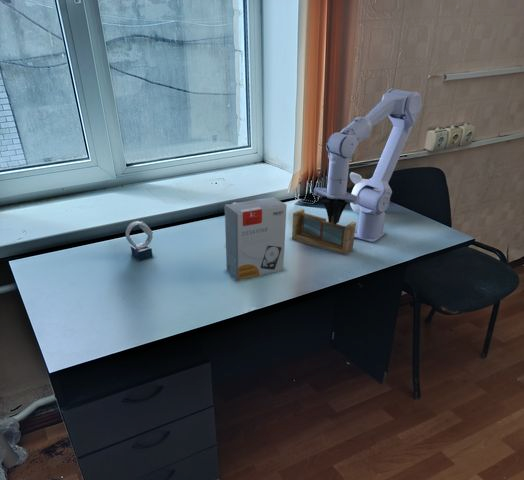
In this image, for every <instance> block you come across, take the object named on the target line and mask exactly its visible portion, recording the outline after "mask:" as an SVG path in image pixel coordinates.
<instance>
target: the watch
mask: <svg viewBox="0 0 524 480" xmlns="http://www.w3.org/2000/svg"><path fill="white" fill-rule="evenodd" d="M136 226H139V228H140V229H141V230H142V232H144V233H145V234H146V235H147V237H146V240H145V241H144V242H139V243H135V242H134V241H133V239H132V238H131V235H130V233H131V231H132V230H133V229H134V227H136ZM153 234H154V231H153V230H152V229H151V227H150V226H148V225H147V223H145V222H144V221H143V220H140V221H139V220H134V221H132V222H130V223H129V224H128V225H127V226H126V229H125V238H126V240H127V242H128V243H129V244H130V251H131V252H130V253H131V256H132V257H133V258H135V259H137V260H138V261H139V262H143V261H146V260H150V259H153V258H154V256H153V250H152V247H150V246H149V245H150V244H151V242H152V241H153V237H154V236H153Z"/></svg>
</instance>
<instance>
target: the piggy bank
mask: <svg viewBox="0 0 524 480" xmlns="http://www.w3.org/2000/svg"><path fill="white" fill-rule="evenodd" d="M349 179H350V181H351V182H352V183H353V184H354V186H353V188H352V191H351V194H353V195H356V196H357V193H358V191H359V190H360V189H361V187H362V186H363V183H364V182H365V181H366V180H368V179H369V178H363V177H362V175H360V174H359V173H356V172H353V171H351V172H350V173H349ZM374 190H377V191H379V192H381V191H380V190H378V189H374ZM349 204H350V208H351V210H352V211H353V212H354V213H356V214H357V215H359V214H360V209H359V205H358V204H356V205H355V204H353V203H350V202H349Z"/></svg>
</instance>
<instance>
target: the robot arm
mask: <svg viewBox="0 0 524 480" xmlns="http://www.w3.org/2000/svg"><path fill="white" fill-rule="evenodd" d="M422 107H423V103H422V97H421V94H420V93H419V92H417V91H409V90H402V89H398V88H394V87H393V88H392V87H391V88H389V89H388V90H387V91H386V92H385V93H383V94H382V97H381V101H380V102H379V103H377V104H376V105H375V106H374V107H373V108H372V109H371V110H370V111H369V112H368V113H367V114H366V115H365V116H356V117H355V118H354V119H353V121H351V122H350V123H349V124H348V125H346V127H343V128H342V129H341V131H338V132H337V131H336V132H334V133H332V134H331V135H330V136H329V137H328V139H327V143H325V149H326V151H327V153H328V155H327V157H328V160H329V162H328V171H327V173H328V175H327V184H326V185H327V187H318V186H316V187H315V188H313V196H320V197H323V198H324V199H323V200H322V204H323V206H324V208H325V211H326V215H327V222H329V223H331V216H333V215H334V224H338V223H339V222H340V219H341V216H342V214H343V212H344V210H345V208H346V206H347V205H348V204H350V203H353V204H355V205H356V204H358V205H359V209H360V214H358V223H357V230H356V231H355V235H354V239H358V240H363V241H366V242H369V243H375V242H376V241H377V240H379V239H380V238H381V237H383V236H384V235H385V234H386V232H385V231H384V226H385V220H386V212H385V211H386V210H387V209H388V208H389V206H390V203H391V197H392V194H393V191H392V188H391V186H390V184H389V182H390V180H391V178H392V175H393V173H394V171H395V168H396V166H397V164H398V161H399V159H400V157H401V154H402V152H403V150H404V147H405V145H406V143H407V140H408V138H409V135H410V134H411V131H412V129H413V126H414V125H415V123H416V121H417V119H418V115H419V114H420V111H421V109H422ZM387 117H388V118H389V121H390V122H391V124H392V129H391V132H390V133H389V136H388V139H387V141H386V143H385V146H384V148H383V151H382V153H381V155H380V158H379V160H378V162H377V164H376V168H375V170H374V172H373V174H372V177H371V178H367V179H368V180H366V181H365V182H364V183H363V186H362V187H361V189H360V190H359V191H358V193H357V196H356V195H353V194H351V193H352V192H351V193H350V192H348V191H347V188H348V180H349V179H348V178H349V169H350V162H351V161H350V159H351V156H353V154H354V153H355V152H356V149H357V147H358V146H359V144H360V143H362V141H364V140H365V139H366V138H367V137H368V136H370V134H371V133H372V128H373V127H374V126H376V125H377V124H379V123H380V122H381V121H383V120H384V119H386V118H387ZM374 189H378V190H380V192H379V191H377V190H374Z"/></svg>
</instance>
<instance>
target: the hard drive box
mask: <svg viewBox="0 0 524 480" xmlns="http://www.w3.org/2000/svg"><path fill="white" fill-rule="evenodd" d="M286 222H287V204H286V203H285V202H283V201H281V200H279V199H278V198H276V197H274V196H272V197H265V198H259V199H252V200H247V201H240V202H239V201H238V202H233V203H228V204H224V228H225V229H224V231H225V258H226V259H225V260H226V261H225V262H226V264H225V265H226V268H225V269H226V272H227V273H228V274H229V275H230V276H231V277H232V278H234V280H235V281H236V282H238V281H241V280H249V279H252V278H256V277H260V276H265V275H269V274H270V275H272V274H275V273H278V272H283V271H284V263H285V244H286V226H287V225H286V224H287V223H286Z"/></svg>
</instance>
